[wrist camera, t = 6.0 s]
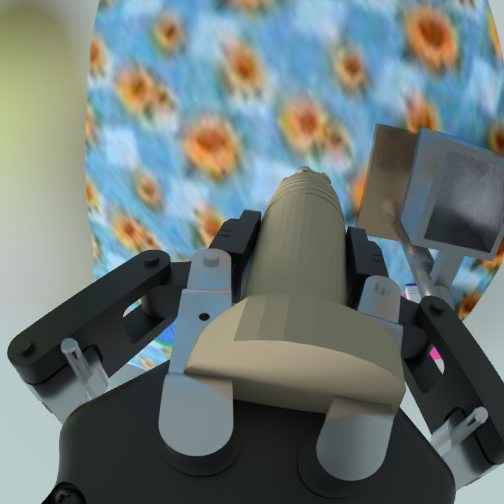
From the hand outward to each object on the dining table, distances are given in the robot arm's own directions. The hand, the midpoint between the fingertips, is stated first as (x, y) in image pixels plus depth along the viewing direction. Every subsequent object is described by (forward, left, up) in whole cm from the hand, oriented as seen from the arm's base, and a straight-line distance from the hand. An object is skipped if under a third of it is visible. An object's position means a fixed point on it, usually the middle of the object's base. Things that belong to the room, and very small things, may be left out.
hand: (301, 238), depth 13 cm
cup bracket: (+4, +15, -27) cm, 31 cm away
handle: (0, 0, -6) cm, 6 cm away
